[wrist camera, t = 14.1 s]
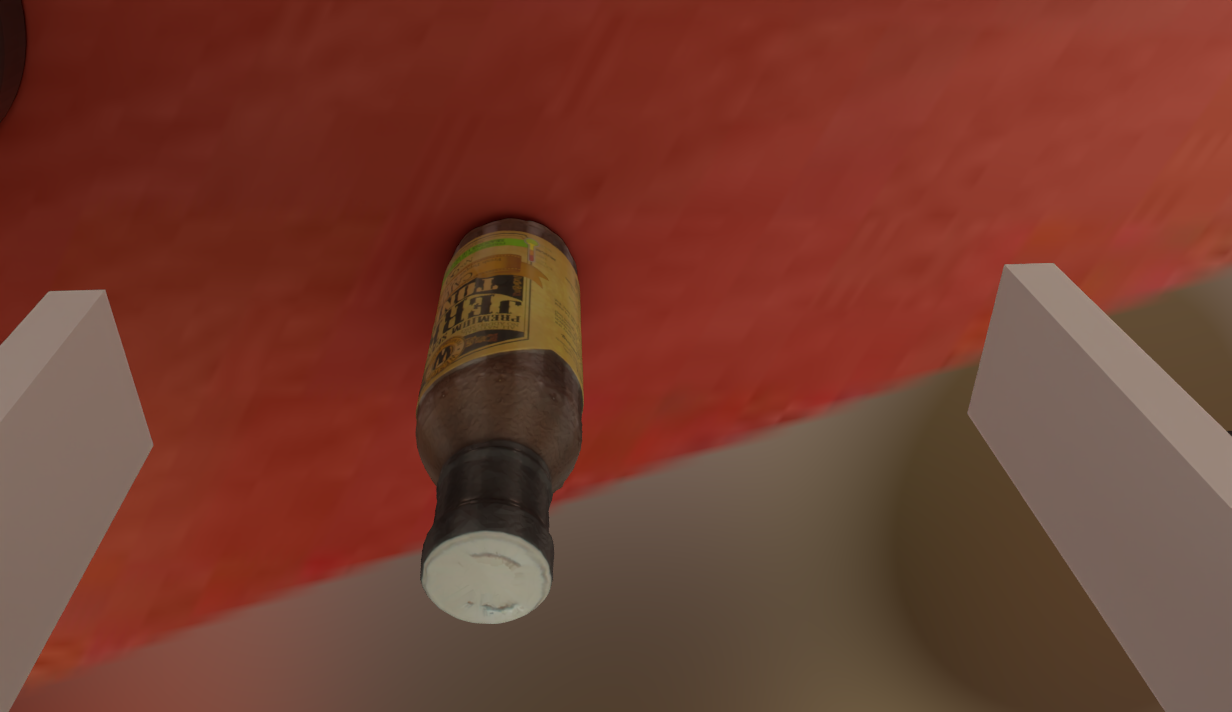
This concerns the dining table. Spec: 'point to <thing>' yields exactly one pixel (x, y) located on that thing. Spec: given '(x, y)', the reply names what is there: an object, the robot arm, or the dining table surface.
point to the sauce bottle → (500, 418)
